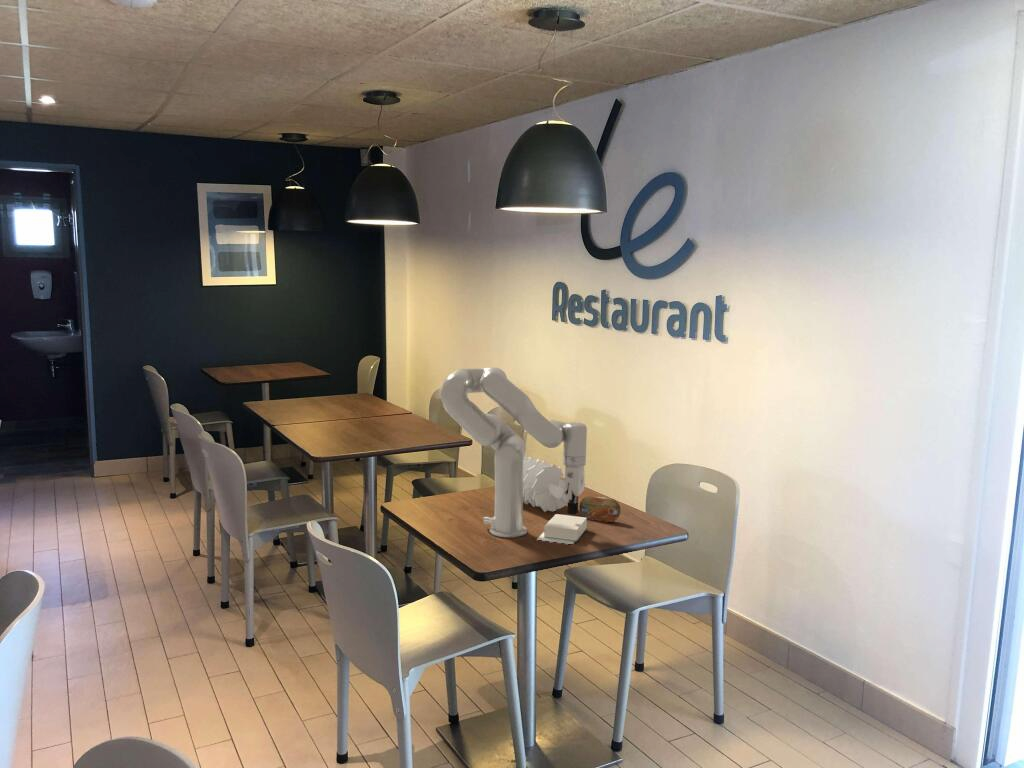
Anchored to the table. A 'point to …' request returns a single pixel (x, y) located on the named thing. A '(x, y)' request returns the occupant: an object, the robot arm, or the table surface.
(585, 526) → the tile
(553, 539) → the mat
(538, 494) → the spiral staircase
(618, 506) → the tin
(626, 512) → the table surface
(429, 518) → the table surface
